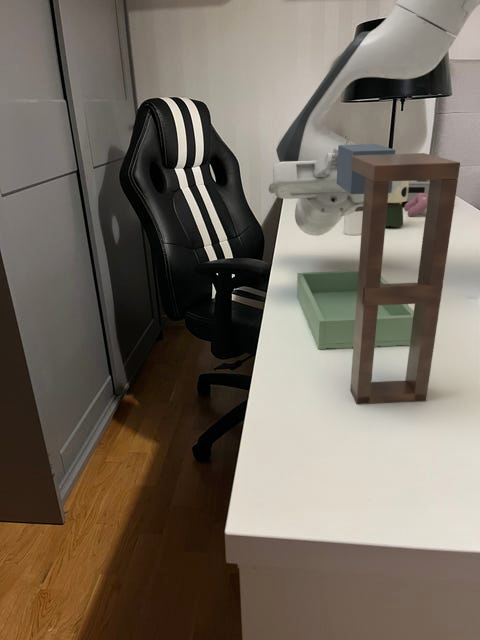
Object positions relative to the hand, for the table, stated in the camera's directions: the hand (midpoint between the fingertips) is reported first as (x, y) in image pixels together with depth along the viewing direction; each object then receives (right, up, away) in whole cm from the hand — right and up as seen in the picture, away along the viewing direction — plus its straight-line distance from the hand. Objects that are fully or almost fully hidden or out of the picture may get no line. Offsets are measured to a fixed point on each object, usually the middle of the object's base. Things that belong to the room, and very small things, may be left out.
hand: (347, 156), depth 71 cm
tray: (+2, -23, +7) cm, 24 cm away
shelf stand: (+2, -31, -10) cm, 33 cm away
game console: (+32, +16, +92) cm, 99 cm away
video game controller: (+36, +8, +74) cm, 83 cm away
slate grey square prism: (0, -5, -3) cm, 6 cm away
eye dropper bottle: (+14, -1, +55) cm, 57 cm away
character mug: (+24, +1, +61) cm, 66 cm away
